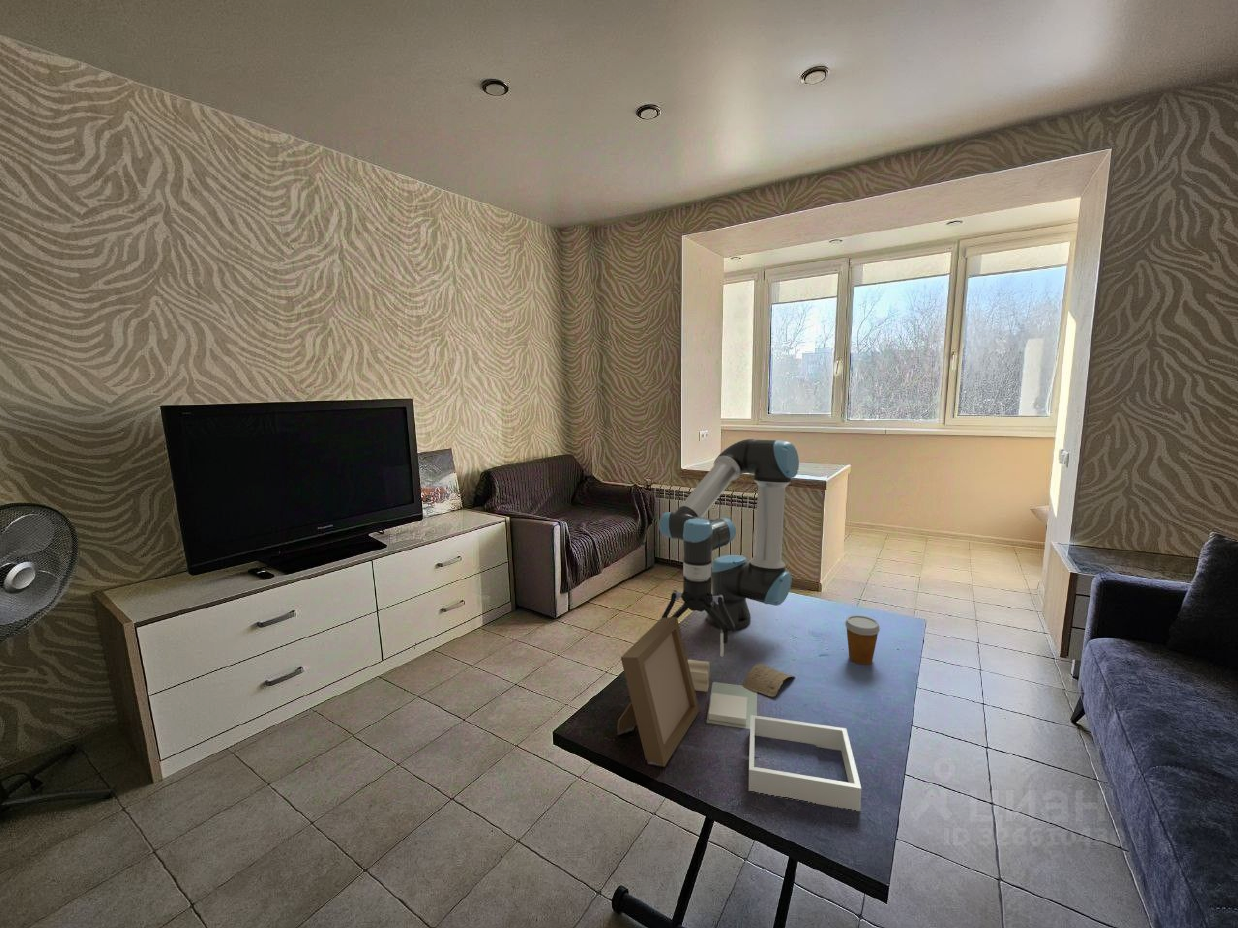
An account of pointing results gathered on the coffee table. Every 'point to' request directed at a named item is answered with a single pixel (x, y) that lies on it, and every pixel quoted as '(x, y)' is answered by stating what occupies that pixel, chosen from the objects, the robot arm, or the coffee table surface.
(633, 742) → the coffee table surface
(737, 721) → the tile
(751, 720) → the white open rectangular frame
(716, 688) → the mat
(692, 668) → the block
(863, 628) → the disposable coffee cup
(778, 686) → the clay tablet
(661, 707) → the photo frame
